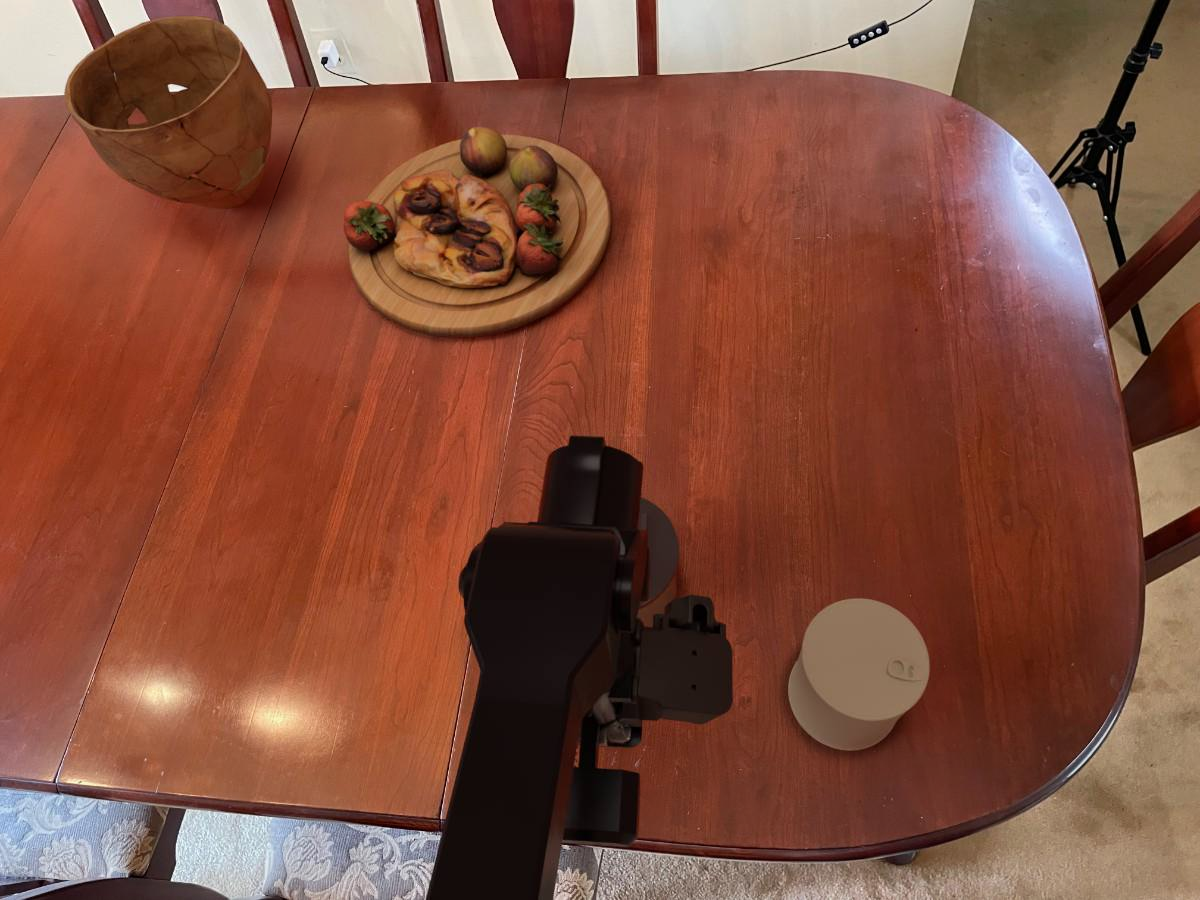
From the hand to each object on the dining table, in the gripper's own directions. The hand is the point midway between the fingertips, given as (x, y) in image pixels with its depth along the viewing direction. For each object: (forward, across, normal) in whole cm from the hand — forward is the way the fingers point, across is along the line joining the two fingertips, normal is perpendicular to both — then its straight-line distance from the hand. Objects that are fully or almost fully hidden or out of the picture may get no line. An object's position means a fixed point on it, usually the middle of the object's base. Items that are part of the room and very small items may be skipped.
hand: (608, 710), depth 61 cm
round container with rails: (+13, +14, +1) cm, 19 cm away
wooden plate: (+13, +58, +21) cm, 63 cm away
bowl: (+13, +66, +55) cm, 87 cm away
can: (+13, +5, -18) cm, 23 cm away
